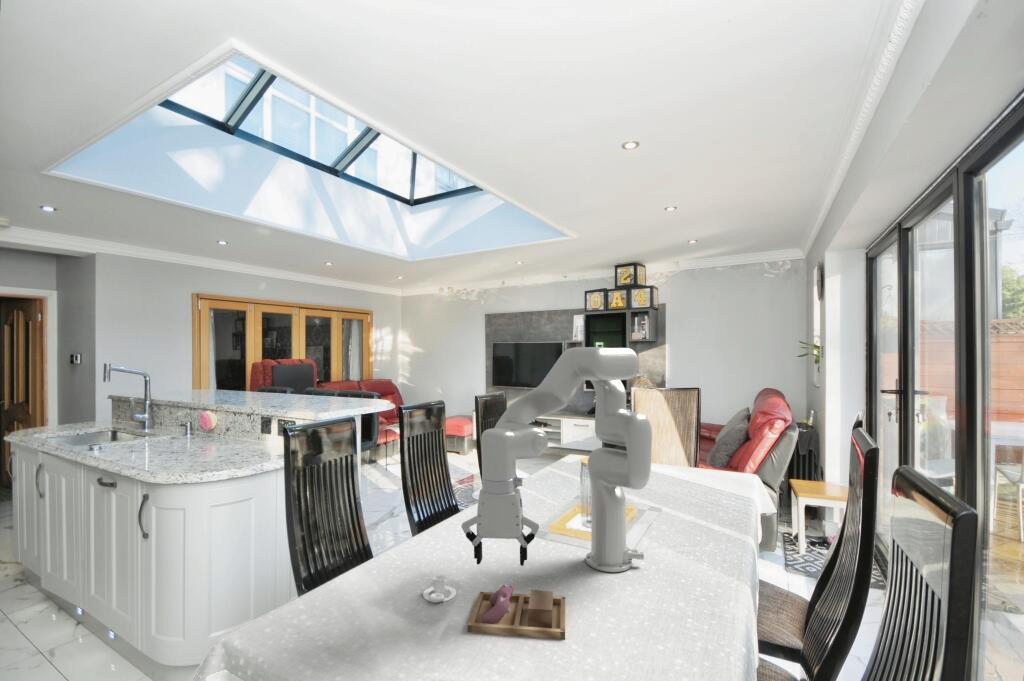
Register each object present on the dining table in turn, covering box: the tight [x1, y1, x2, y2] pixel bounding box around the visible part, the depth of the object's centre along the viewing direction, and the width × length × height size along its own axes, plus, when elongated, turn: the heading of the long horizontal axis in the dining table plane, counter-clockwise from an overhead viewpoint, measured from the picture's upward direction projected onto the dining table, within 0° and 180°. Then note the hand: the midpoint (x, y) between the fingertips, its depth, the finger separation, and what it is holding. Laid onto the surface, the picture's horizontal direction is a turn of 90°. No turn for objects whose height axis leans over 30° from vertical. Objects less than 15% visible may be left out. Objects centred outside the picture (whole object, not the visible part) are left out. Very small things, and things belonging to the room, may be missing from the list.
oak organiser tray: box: [467, 591, 566, 640], centre depth 102 cm, size 20×14×2 cm
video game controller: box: [482, 583, 515, 624], centre depth 103 cm, size 10×5×7 cm, turn 172°
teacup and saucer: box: [422, 574, 457, 603], centre depth 112 cm, size 9×8×4 cm
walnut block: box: [528, 589, 554, 628], centre depth 102 cm, size 5×8×4 cm, turn 173°
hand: (500, 562), depth 104 cm, fingers open, 9 cm apart
